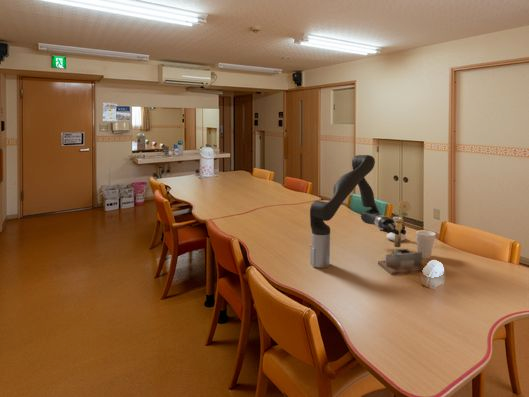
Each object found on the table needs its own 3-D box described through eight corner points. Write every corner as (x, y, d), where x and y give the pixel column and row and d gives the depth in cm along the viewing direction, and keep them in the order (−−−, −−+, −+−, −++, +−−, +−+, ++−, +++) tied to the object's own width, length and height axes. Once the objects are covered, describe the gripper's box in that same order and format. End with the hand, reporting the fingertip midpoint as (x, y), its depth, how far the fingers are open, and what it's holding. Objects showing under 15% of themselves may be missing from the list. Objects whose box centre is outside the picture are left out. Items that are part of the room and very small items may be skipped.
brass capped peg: (395, 247, 182) (397, 220, 179) (392, 245, 185) (393, 218, 182) (402, 247, 182) (404, 220, 179) (398, 244, 186) (400, 218, 183)
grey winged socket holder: (389, 269, 177) (389, 255, 175) (382, 263, 183) (382, 250, 182) (425, 266, 180) (426, 252, 178) (417, 260, 186) (417, 247, 185)
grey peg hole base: (391, 275, 174) (391, 272, 173) (377, 263, 187) (378, 261, 187) (430, 271, 177) (430, 268, 176) (413, 260, 190) (414, 258, 190)
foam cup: (436, 255, 197) (438, 232, 194) (430, 260, 190) (432, 236, 187) (418, 251, 203) (420, 229, 200) (411, 256, 196) (413, 233, 194)
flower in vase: (387, 242, 219) (390, 201, 214) (384, 236, 230) (386, 197, 225) (410, 243, 217) (413, 202, 212) (406, 237, 228) (409, 198, 223)
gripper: (372, 217, 194) (388, 226, 177) (396, 215, 196) (415, 224, 179) (371, 230, 195) (388, 241, 179) (395, 229, 198) (414, 239, 181)
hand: (401, 232), depth 179 cm, fingers closed on brass capped peg, 3 cm apart
